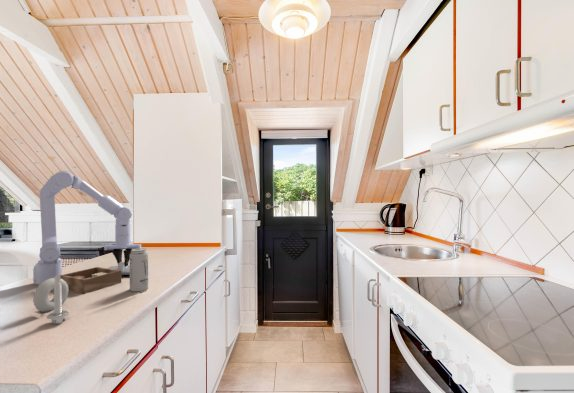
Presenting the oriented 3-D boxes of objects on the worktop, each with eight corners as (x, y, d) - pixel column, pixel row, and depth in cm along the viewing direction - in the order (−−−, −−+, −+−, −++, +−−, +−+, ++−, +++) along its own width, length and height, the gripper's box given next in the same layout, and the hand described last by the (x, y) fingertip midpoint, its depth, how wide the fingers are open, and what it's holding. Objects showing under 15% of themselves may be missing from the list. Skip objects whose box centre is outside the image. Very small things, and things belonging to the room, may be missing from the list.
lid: (95, 275, 124) (95, 266, 124) (111, 268, 139) (111, 259, 139) (135, 274, 126) (135, 265, 126) (146, 267, 141) (146, 258, 141)
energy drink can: (144, 293, 107) (144, 251, 107) (126, 294, 107) (126, 251, 107) (151, 288, 113) (150, 247, 113) (134, 288, 113) (133, 248, 113)
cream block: (91, 283, 117) (91, 274, 117) (102, 281, 120) (101, 272, 120) (98, 285, 115) (98, 275, 115) (108, 282, 119) (108, 273, 119)
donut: (40, 318, 86) (39, 283, 86) (30, 317, 87) (29, 282, 87) (71, 305, 96) (71, 274, 96) (62, 305, 97) (62, 273, 96)
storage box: (59, 290, 111) (59, 275, 111) (97, 280, 124) (97, 267, 124) (84, 295, 105) (84, 279, 105) (121, 284, 118) (121, 270, 118)
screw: (44, 327, 80) (49, 320, 85) (66, 324, 82) (70, 317, 87) (43, 277, 80) (49, 273, 85) (65, 275, 82) (70, 271, 87)
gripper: (100, 236, 128) (101, 268, 128) (137, 235, 130) (137, 267, 130) (108, 234, 135) (108, 265, 135) (142, 233, 137) (143, 263, 137)
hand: (123, 266), depth 133 cm, fingers closed on lid, 2 cm apart
